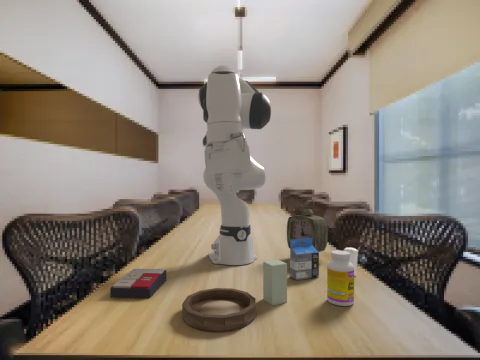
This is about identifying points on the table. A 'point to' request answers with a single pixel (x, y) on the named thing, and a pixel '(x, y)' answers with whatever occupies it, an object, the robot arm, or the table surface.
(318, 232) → the tabletop clock
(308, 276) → the label tape cartridge
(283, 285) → the block
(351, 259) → the milkshake
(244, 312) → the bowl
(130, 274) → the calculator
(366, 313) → the table surface
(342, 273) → the supplement bottle
